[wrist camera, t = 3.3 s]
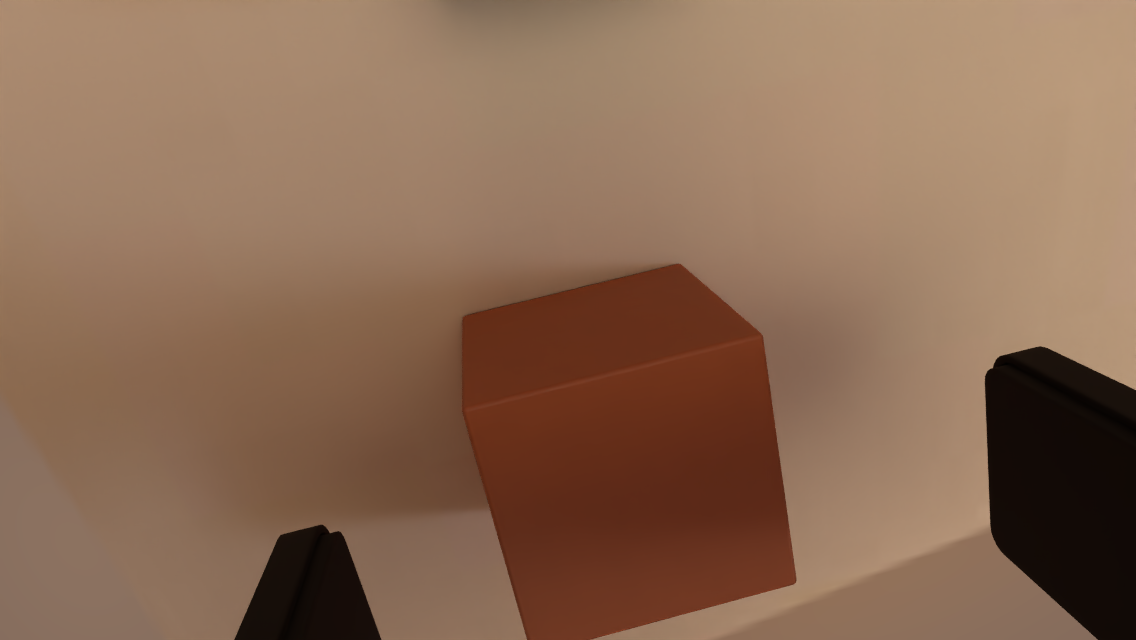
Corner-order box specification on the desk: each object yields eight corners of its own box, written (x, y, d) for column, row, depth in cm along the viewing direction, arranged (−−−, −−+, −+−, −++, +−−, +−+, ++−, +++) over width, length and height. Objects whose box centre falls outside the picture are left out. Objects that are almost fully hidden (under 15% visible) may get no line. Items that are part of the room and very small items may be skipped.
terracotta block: (514, 508, 16) (532, 657, 12) (461, 315, 15) (461, 408, 11) (713, 456, 16) (798, 585, 12) (680, 262, 15) (764, 333, 11)
